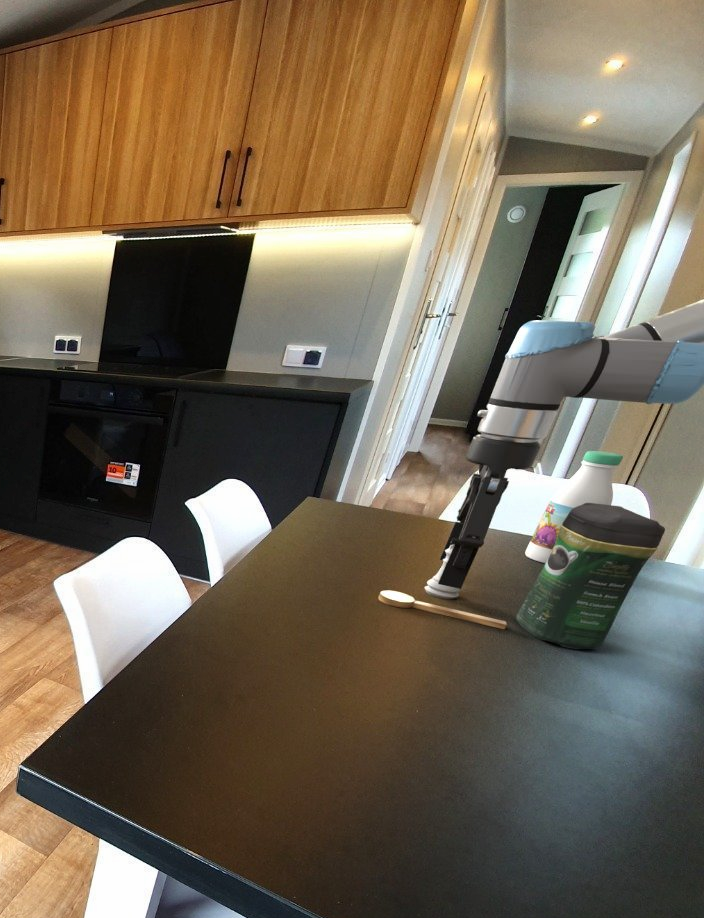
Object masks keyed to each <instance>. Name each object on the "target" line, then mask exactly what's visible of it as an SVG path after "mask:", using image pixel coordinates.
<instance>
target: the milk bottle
mask: <svg viewBox="0 0 704 918" xmlns="http://www.w3.org/2000/svg"><path fill="white" fill-rule="evenodd" d="M623 459H624V456H623V455H622V454H619V453H614V452H608V451H600V450H599V451H598V450H588V451H586V452H585V454H584V455H583V458H582V460H581V463H580V464H581V466H580V468H579V469H578V470H577V471H576V472H575V473H574V475H572V476H571V477H570V478H569V479H568V480H567V481H565V482H564V483H563V484H562V485H561V486H559V488H557V490H556V491H555V492H554V493H553V495H552V497H551V499H550V500H549V503H548V504H547V506H546V508H545V510H544V512H543V514H542V517H540V520H539V523H538V525H537V526H536V529H535V530H534V533H533V534H532V537H531V539H530V541H529V543H528V545H527V547H526V549H525V556H526V557H527V558H529V559H531V560H534V561H536V562H540V563H543V564H545V563H546V561H547V559H548V558H549V556H550V554H551V552H552V550H553V548H554V545H555V543H556V540H557V537H558V534H559V530H560V528H561V525H563V524H562V523H563V522H564V520H565V519H566V517H567V516H568V514H569V512H570V511H571V510H572V509H573V508H575V507H577V506H580V505H582V504H584V503H596V504H604V505H612V503H613V500H614V499H613V498H614V490H613V475H614V472H615V471H616V469H619V465H621V463H622V461H623Z"/></svg>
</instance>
